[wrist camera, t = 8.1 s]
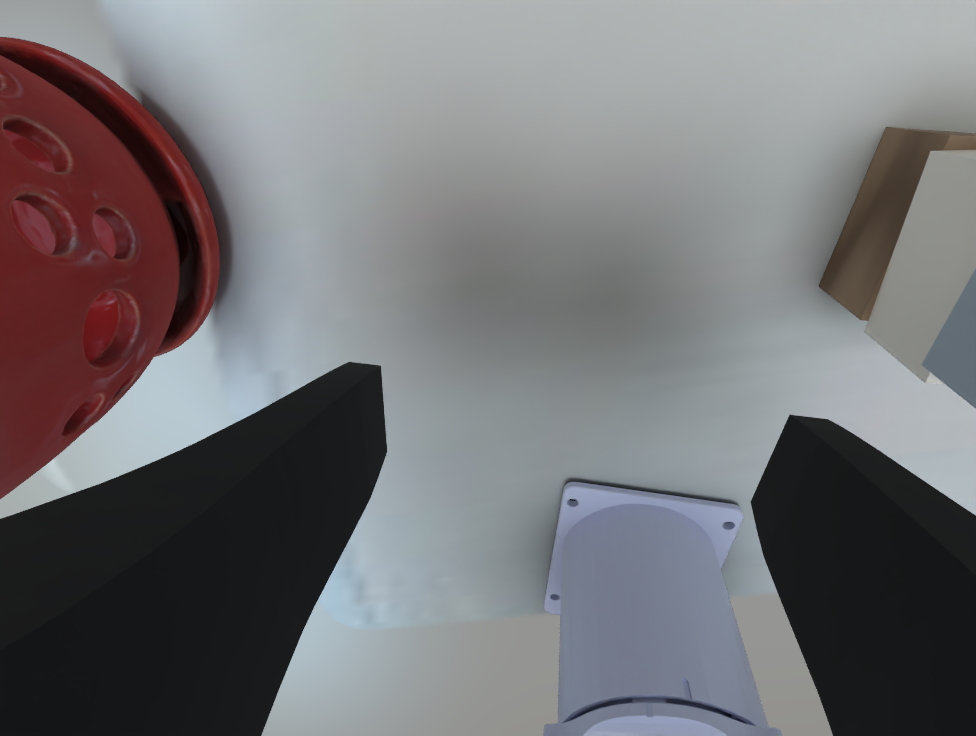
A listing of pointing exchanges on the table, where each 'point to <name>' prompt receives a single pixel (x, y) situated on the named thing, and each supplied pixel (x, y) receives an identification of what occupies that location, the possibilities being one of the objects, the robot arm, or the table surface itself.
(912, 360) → the cream block
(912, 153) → the walnut block
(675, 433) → the table surface
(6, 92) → the plant pot
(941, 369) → the slate block
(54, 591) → the robot arm
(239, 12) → the table surface
